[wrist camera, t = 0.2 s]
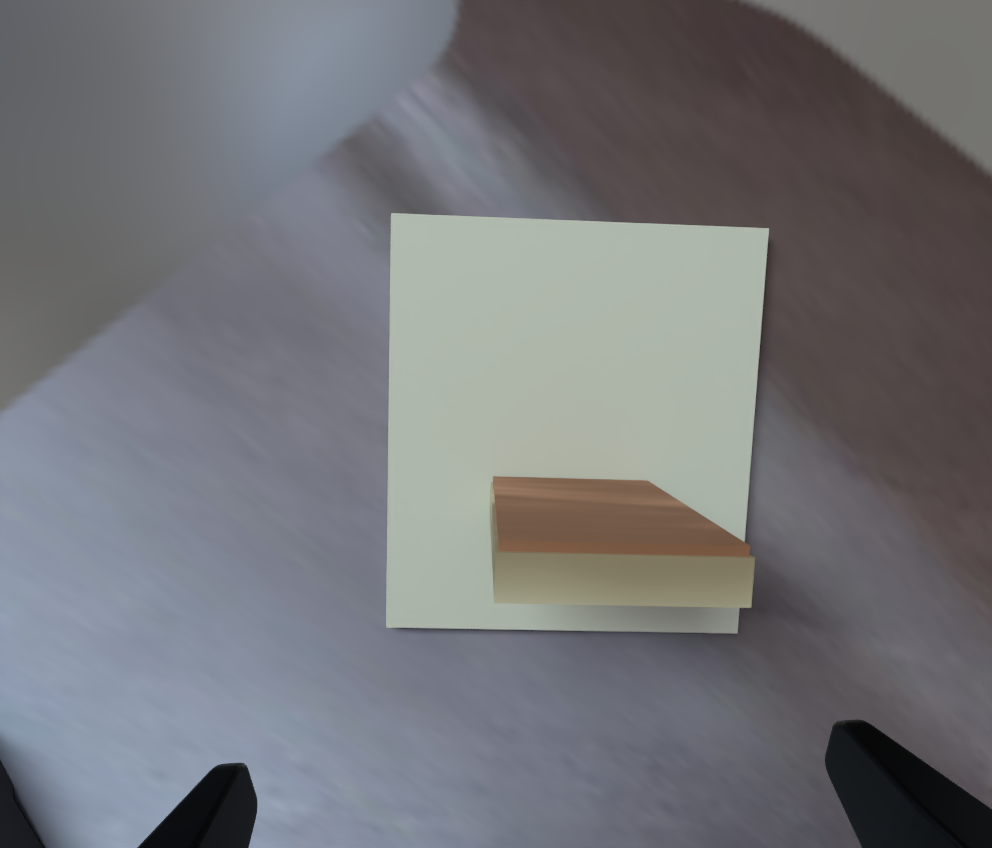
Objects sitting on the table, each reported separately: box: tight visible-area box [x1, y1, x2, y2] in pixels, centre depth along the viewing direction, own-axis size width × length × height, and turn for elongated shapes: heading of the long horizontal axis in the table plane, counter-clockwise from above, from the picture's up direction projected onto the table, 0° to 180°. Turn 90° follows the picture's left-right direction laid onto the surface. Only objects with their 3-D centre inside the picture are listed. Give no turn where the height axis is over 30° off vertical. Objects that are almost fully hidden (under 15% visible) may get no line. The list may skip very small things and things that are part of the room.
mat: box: [386, 213, 769, 633], centre depth 23 cm, size 18×16×1 cm
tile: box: [490, 476, 755, 608], centre depth 18 cm, size 2×7×9 cm, turn 88°
